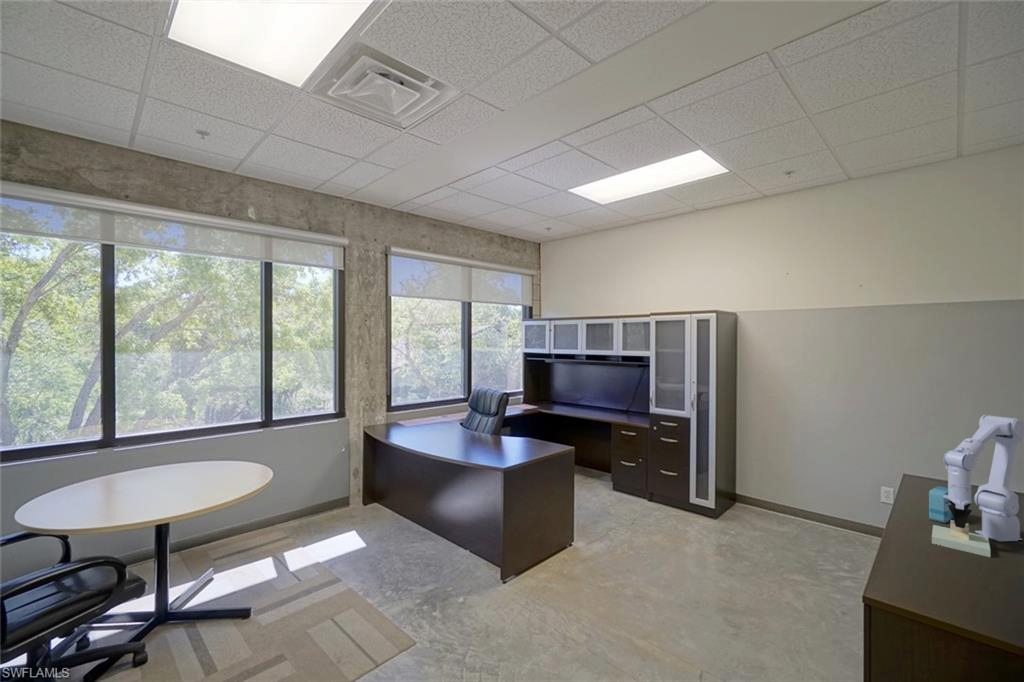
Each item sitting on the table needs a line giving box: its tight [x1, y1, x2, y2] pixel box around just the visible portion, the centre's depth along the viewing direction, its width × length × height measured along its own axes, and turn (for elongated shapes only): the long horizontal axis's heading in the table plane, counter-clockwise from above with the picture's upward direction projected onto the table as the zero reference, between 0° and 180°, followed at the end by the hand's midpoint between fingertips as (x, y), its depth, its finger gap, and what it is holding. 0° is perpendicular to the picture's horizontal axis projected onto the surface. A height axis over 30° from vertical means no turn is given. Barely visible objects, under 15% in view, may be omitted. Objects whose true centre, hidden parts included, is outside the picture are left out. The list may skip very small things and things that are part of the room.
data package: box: [928, 486, 954, 524], centre depth 175 cm, size 12×4×12 cm, turn 121°
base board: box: [931, 524, 991, 558], centre depth 154 cm, size 14×14×2 cm
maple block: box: [949, 519, 970, 540], centre depth 154 cm, size 4×4×4 cm
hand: (959, 523), depth 154 cm, fingers open, 7 cm apart
